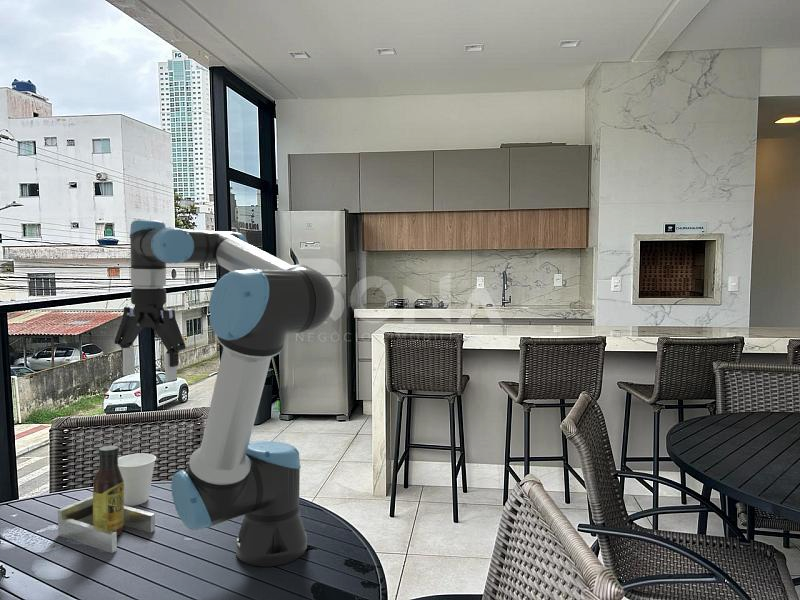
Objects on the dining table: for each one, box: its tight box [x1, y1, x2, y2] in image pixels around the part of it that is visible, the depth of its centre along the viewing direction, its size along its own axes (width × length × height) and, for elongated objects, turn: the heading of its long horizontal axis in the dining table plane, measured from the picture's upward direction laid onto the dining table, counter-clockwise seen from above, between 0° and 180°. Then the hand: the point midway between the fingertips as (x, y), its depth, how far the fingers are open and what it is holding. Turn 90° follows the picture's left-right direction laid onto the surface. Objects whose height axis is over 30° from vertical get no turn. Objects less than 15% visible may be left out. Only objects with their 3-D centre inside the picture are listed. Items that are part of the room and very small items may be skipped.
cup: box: [118, 452, 157, 507], centre depth 146 cm, size 10×10×11 cm
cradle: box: [57, 495, 156, 554], centre depth 129 cm, size 17×11×6 cm, turn 66°
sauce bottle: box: [92, 444, 125, 536], centre depth 129 cm, size 6×6×20 cm
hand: (149, 377), depth 134 cm, fingers open, 13 cm apart
